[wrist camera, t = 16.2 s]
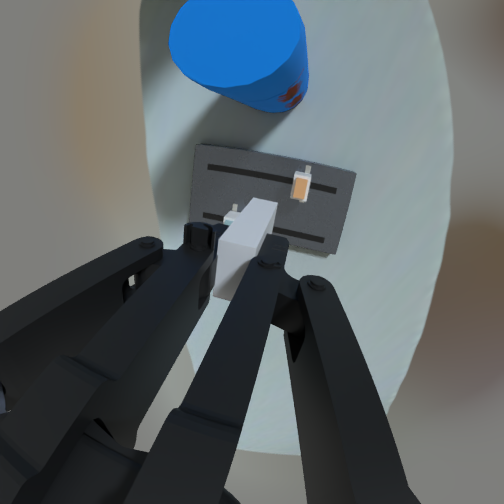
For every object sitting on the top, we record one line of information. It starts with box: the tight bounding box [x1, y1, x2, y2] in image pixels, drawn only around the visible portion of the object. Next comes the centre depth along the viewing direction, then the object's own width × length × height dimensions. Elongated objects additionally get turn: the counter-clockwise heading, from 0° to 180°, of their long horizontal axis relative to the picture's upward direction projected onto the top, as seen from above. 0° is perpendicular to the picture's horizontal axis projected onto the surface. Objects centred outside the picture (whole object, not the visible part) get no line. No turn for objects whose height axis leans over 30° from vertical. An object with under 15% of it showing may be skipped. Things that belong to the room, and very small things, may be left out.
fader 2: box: [290, 171, 311, 201], centre depth 39 cm, size 4×2×4 cm, turn 171°
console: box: [189, 144, 356, 254], centre depth 45 cm, size 15×26×2 cm, turn 81°
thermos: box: [168, 0, 309, 113], centre depth 26 cm, size 11×11×25 cm
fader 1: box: [223, 211, 240, 226], centre depth 44 cm, size 4×2×4 cm, turn 171°
